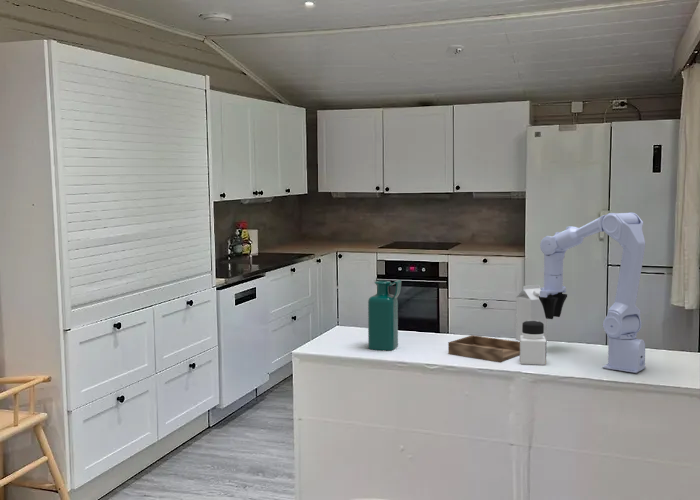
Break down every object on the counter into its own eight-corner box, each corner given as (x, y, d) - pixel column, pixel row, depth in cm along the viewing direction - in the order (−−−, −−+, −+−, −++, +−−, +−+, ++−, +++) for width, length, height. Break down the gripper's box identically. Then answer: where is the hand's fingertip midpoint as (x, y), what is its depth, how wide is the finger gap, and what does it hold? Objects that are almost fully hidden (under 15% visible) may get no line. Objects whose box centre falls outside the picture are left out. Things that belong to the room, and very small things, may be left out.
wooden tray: (523, 353, 217) (523, 342, 216) (500, 362, 206) (500, 350, 206) (472, 346, 228) (472, 335, 228) (448, 353, 218) (448, 342, 217)
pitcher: (366, 350, 224) (366, 281, 223) (374, 344, 232) (373, 278, 231) (396, 351, 221) (396, 282, 220) (403, 346, 229) (402, 279, 228)
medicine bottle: (546, 365, 202) (546, 323, 201) (520, 364, 203) (520, 323, 203) (544, 359, 209) (544, 319, 208) (519, 358, 210) (520, 319, 209)
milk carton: (515, 341, 235) (516, 285, 234) (532, 339, 238) (532, 283, 237) (530, 345, 229) (530, 287, 227) (547, 343, 232) (547, 285, 231)
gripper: (551, 271, 227) (551, 313, 228) (530, 275, 216) (530, 319, 217) (572, 273, 223) (571, 315, 224) (552, 277, 212) (552, 322, 213)
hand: (552, 317), depth 220 cm, fingers open, 4 cm apart
